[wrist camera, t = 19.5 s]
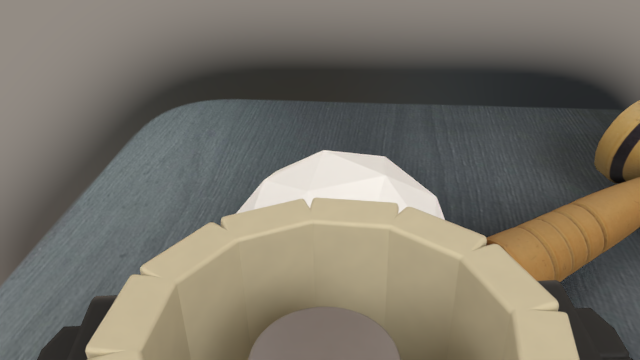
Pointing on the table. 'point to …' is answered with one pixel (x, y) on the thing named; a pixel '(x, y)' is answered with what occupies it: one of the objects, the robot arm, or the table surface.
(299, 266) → the beige grooved cup
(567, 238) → the kendama
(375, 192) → the ball
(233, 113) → the table surface
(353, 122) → the table surface
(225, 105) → the table surface
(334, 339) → the stand
